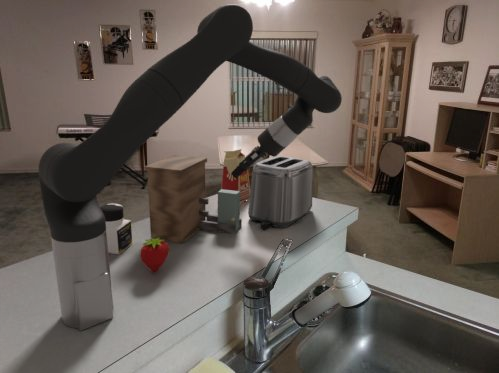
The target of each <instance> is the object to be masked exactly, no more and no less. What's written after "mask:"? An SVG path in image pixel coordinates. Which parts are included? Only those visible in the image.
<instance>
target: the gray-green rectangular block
mask: <svg viewBox="0 0 499 373" xmlns="http://www.w3.org/2000/svg"><path fill="white" fill-rule="evenodd" d="M240 207H241V204H240V191H233V190H224V189H221V188H220V190H219V191H217V215H218V223H225V224H232V225H236V232H237V231H239V229H240V227H239V218H240V215H241V214H240V210H241V208H240Z"/></svg>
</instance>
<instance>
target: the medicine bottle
mask: <svg viewBox="0 0 499 373" xmlns="http://www.w3.org/2000/svg"><path fill="white" fill-rule="evenodd" d="M100 208H101V210H102V212H103V214H104V216H105V221H106V233H107V245H108V254H110V255H111V254H112V255H121V254H122V253H123V252H124V251H125V250H126V249H128V248H129V247H130V246H132V244H133V234H132V231H133V230H132V220H131V219H125V217H124V207H123V205H122V204H118V203H107V204H104V205H101V206H100Z"/></svg>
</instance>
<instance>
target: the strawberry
mask: <svg viewBox="0 0 499 373" xmlns="http://www.w3.org/2000/svg"><path fill="white" fill-rule="evenodd" d="M159 238H160V237H159ZM159 238H157V239H153V238H151V237H150V239H145V241H146V242H144V243H143V246H142V247H141V249H140V254H139V257H140V260H141V261H142V264H144V266H146V268H147V269H149V270H150V272H152V273H157V272H159V270H160V268H161V267H162V266H163V265H164V263H165V262H166V261H167V259H168V256H169V252H170V247H169V243H167V242H165V240H159Z"/></svg>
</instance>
